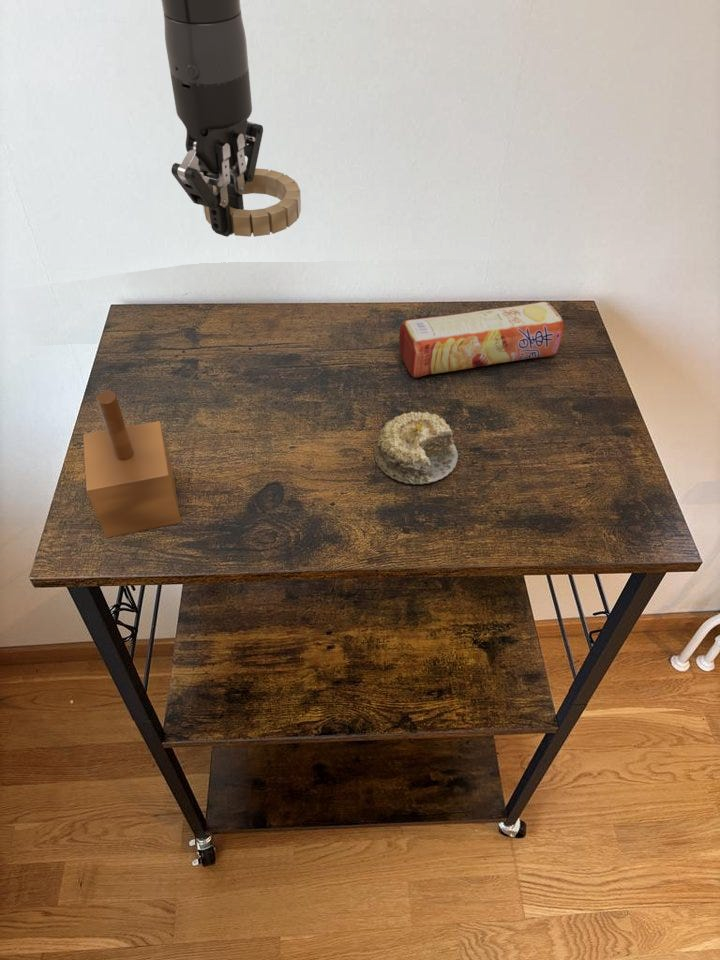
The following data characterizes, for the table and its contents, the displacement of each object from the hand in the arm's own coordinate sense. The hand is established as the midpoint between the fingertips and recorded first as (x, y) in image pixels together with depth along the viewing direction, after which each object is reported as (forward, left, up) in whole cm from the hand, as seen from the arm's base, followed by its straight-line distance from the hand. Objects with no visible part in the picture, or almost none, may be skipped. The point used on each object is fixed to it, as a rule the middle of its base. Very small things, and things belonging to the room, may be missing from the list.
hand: (228, 228), depth 83 cm
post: (-16, -21, -19) cm, 33 cm away
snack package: (+30, -8, -19) cm, 37 cm away
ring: (+3, +3, 0) cm, 5 cm away
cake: (+16, -23, -19) cm, 34 cm away
